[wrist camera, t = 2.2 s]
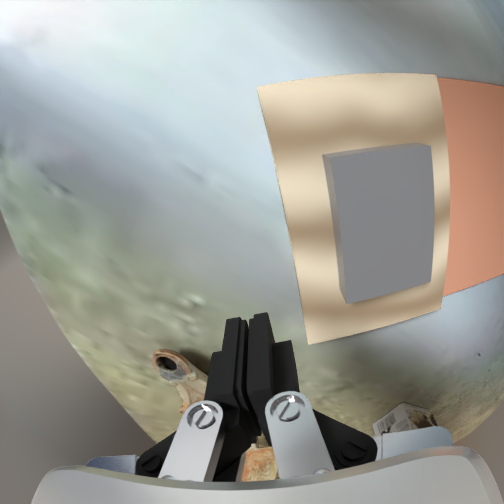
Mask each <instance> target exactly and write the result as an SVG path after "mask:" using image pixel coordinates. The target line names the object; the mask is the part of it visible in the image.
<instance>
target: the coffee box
mask: <svg viewBox="0 0 504 504" xmlns="http://www.w3.org/2000/svg"><path fill="white" fill-rule="evenodd" d="M433 426H437V424H436V421H435V419H434V417H433V415H432V413H431V411H430V410H428V409H424V408H420V407H417V406H413V405H409V404H406V403H401V404H399V405H398V406H397V407H395V408H394V409H393V410H392V411H390V412H389V413H388V414H386V415H385V416H383V417H382V418H381V419H379V420H378V421H376V422H375V423H374V424H372V427H373V431H374V434H375V437H378V436H382V434H386V433H394V432H402V431H409V430H416V429H422V428H427V427H433Z"/></svg>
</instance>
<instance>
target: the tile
mask: <svg viewBox="0 0 504 504" xmlns="http://www.w3.org/2000/svg"><path fill="white" fill-rule="evenodd" d="M322 158H323V164H324V169H325V175H326V181H327V187H328V194H329V200H330V207H331V214H332V222H333V230H334V238H335V247H336V256H337V265H338V276H339V288H340V291H341V293H342V296H343V298H344V300H345V302H346V304H350V303H354V302H358V301H363V300H367V299H371V298H375V297H378V296H382V295H386V294H390V293H394V292H397V291H401V290H405V289H408V288H412V287H415V286H419V285H422V284H426V283H429V282H431V275H432V263H433V248H434V178H433V163H432V151H431V145H426V144H420V143H407V144H397V145H387V146H379V147H370V148H363V149H355V150H348V151H341V152H335V153H329V154H322Z"/></svg>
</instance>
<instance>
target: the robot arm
mask: <svg viewBox="0 0 504 504" xmlns="http://www.w3.org/2000/svg"><path fill="white" fill-rule="evenodd" d="M262 431H263V433H264V436H265V438H266V440H267V442H268V445H270V446H271V447H272V448H273V451H274V455H275V460H276V464H277V469H278V473H279V477H280V479H277V480H265V481H248V482H241V478H242V473H243V469H244V464H245V460H246V451H247V450H248V449H249V448H250V447H251V444H256V443H257V436H261V433H262ZM31 504H504V503H503V500H502V497H501V495H500V492H499V489H498V486H497V484H496V482H495V479H494V477H493V476H492V473H491V471H490V470H489V468H488V466H487V464H486V463H485V461H484V460H483V459H482V458H481V457H480V455H479V454H478V453H477V452H475V451H474V450H472V449H470V448H466V447H460V446H453V441H452V436H451V434H450V432H449V431H448V430H447V429H446V428H444V427H441V426H433V427H427V428H422V429H416V430H409V431H402V432H394V433H386V434H382V436H378V437H370V436H369V435H367V434H365V433H363V432H360V431H358V430H356V429H354V428H351V427H349V426H347V425H345V424H343V423H340V422H338V421H336V420H334V419H332V418H330V417H328V416H326V415H324V414H322V413H320V412H318V411H316V410H314V409H312V407H311V405H310V402H309V400H308V399H307V397H306V396H304V395H303V394H302V393H300V391H299V384H298V376H297V369H296V363H295V357H294V352H293V347H292V342H291V340H289V341H284V342H278V343H275V340H274V336H273V332H272V328H271V324H270V320H269V316H268V313H267V312H266V313H261V314H255V315H254V318H252V319H249V327H248V324H247V321H246V320H242V319H241V318H240V317H237V318H231V319H227V320H226V326H225V333H224V339H223V346H222V351H219V352H213V354H212V357H211V363H210V368H209V374H208V379H207V385H206V390H205V396H204V401H200V402H197V403H194V404H193V405H191V406H190V407H189V408H188V409H187V410H186V411H185V413H184V414H183V417H182V419H181V422H180V424H179V427H178V429H177V431H175V432H174V433H172V434H171V435H170V436H168V437H167V438H165V439H164V440H162V441H161V442H159V443H158V444H156V445H155V446H153V447H152V448H150V449H149V450H147V451H146V452H144V453H143V454H142V455H141V456H140V457H137V456H136V455H126V456H111V457H96V458H93V459H91V460H90V461H89V462H88V463H87V464H86V466H65V467H59V468H56V469H53V470H51V471H49V472H48V473H47V474H46V475H45V477H44V478H43V479H42V481H41V483H40V485H39V486H38V489H37V491H36V493H35V495H34V497H33V500H32V503H31Z"/></svg>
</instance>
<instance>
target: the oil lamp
mask: <svg viewBox="0 0 504 504" xmlns="http://www.w3.org/2000/svg"><path fill="white" fill-rule="evenodd" d="M152 365H153V367H154V369H155V371H156V372H157V373H158V374H159V375H160V376H161V377H163V378H165V379H166V380H168V381H169V383H170V385H172V386H176V387H177V389H178V391H179V393H180V396H181V399H182V402H183V405H182V406H181V408H180V409H179V412H180V413H185V411H186V410H187V409H188V408H189V407H190V406H191V405H193V404H194V403H197V402H200V401H204V396H205V390H206V385H207V379H208V376H207V375H206V374H204V373H203V372H201V371H200V370H199V369H197V368H196V367H195V366H194V365H193V364H191V363H190V362H189V361H188V360H187V359H186V358H185V357H184V356H182V355H181V354H179V353H177V352H175V351H172V350H167V349H159V350H156V351H155V353H154V354H153V357H152ZM277 471H278V469H277V464H276V460H275V455H274V451H273V448H272V447H271V446H268V447H259V442H258V437H257V443H256V444H251V447H250V448H249V449H248V450H247V451H246V460H245V464H244V469H243V473H242V478H241V479H242V480H243V481H244V482H248V481H265V480H275V479H276V475H277Z"/></svg>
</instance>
